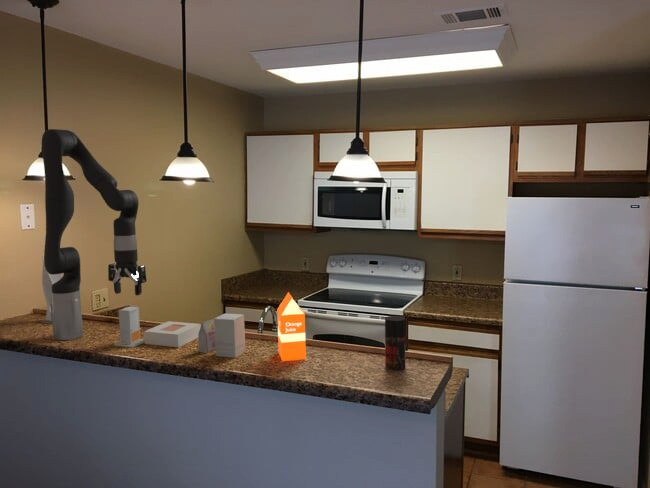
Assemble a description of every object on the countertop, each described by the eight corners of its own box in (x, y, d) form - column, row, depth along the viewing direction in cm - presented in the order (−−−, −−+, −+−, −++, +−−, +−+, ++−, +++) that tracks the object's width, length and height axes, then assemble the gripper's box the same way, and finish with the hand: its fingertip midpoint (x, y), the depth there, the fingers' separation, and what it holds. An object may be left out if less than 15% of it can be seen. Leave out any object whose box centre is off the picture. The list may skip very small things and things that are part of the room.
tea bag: (199, 351, 180) (197, 322, 179) (213, 346, 185) (212, 317, 184) (206, 353, 178) (205, 323, 177) (221, 347, 183) (220, 319, 182)
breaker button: (162, 340, 191) (161, 330, 191) (173, 335, 198) (173, 325, 197) (173, 341, 190) (172, 331, 189) (184, 336, 196) (183, 326, 196)
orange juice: (301, 350, 179) (300, 291, 176) (306, 359, 170) (304, 296, 168) (278, 352, 177) (276, 292, 175) (281, 361, 168) (279, 298, 166)
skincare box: (131, 344, 187) (128, 310, 185) (120, 344, 188) (117, 310, 186) (141, 339, 193) (139, 306, 191) (130, 338, 194) (128, 306, 192)
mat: (113, 345, 188) (113, 344, 188) (129, 339, 196) (129, 337, 195) (132, 347, 185) (132, 346, 185) (147, 341, 193) (147, 339, 193)
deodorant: (383, 364, 164) (383, 316, 162) (402, 363, 164) (402, 315, 162) (387, 371, 158) (387, 321, 156) (407, 370, 158) (407, 320, 156)
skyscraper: (39, 322, 223) (33, 254, 219) (56, 317, 230) (50, 252, 227) (53, 324, 219) (48, 255, 216) (70, 319, 226) (65, 253, 223)
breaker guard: (144, 343, 190) (143, 331, 189) (169, 333, 203) (168, 321, 202) (178, 347, 185) (177, 334, 184) (201, 336, 198) (200, 324, 197)
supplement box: (246, 351, 179) (244, 314, 177) (235, 358, 172) (233, 319, 170) (226, 349, 181) (224, 312, 180) (215, 356, 174) (213, 318, 173)
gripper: (101, 248, 185) (103, 295, 187) (135, 250, 181) (137, 297, 183) (116, 246, 192) (119, 290, 194) (149, 247, 188) (151, 293, 190)
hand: (128, 294), depth 188 cm, fingers open, 8 cm apart
